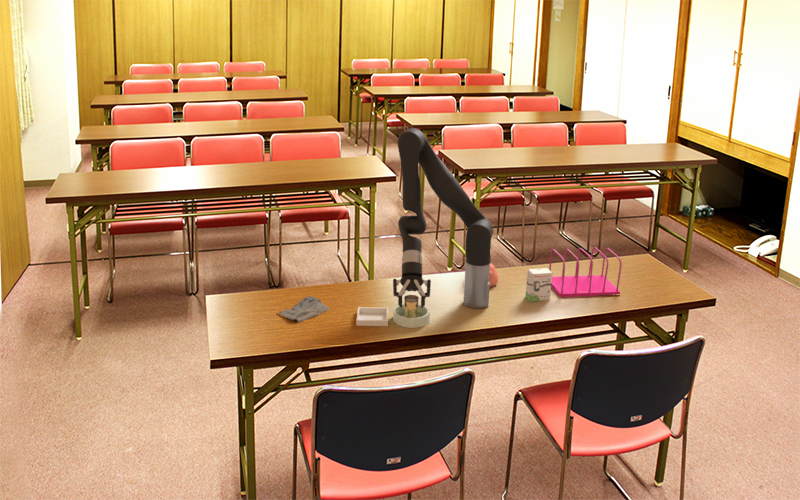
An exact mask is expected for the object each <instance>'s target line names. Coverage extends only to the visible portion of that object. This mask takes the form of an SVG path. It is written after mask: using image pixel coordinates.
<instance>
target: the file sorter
mask: <svg viewBox="0 0 800 500" xmlns="http://www.w3.org/2000/svg"><path fill="white" fill-rule="evenodd" d="M595 250H596V251H597V252H598V253H599V254H600V255H601V256H602V257H603V259H602V266H601V267H602V268H601V274H600V275H599V274H598V275H597V274H595V275H593V270H594V269H593V267H594V264H593V263H594V262H593V255H594V251H595ZM607 250H608V252H610V253H611V254H613V256H615V257H616V258H617V259H618V261H619V269H618V276H617V282H616V283H617V284H616V286H615V285H614V284H613V283H612V282H611V280H609V279H608V278H607V275H608V270H609V258H608V257H607V256H606V253H607ZM563 251H564V253H563V256H562V255H561V253H559V252H558V251H557V250H556V249H555V248H551V250H550V256H549V266H548V269H549V270H550V271H551V272H552V259H553V258H552V257H553V252H554V253H555V254H556V255H557V256H559V258H561V260H562V270H561V275H560V276H558V275H557V276H552V282H551V289H553V291H554V292H555V293H556V294H557V295H558V296H559V298H576V297H577V298H579V297H580V296H584V297H597V296H596V295H612V296H614V295H613V294H620V295H621V291H620V290H619V286H620V279H621V272H622V267H623V266H622V264H623V263H622V259H621V257H620V256H618V255H617V253H615V252H614V251H613V250H611V248H610V247H605V249H604V252H602V251H601V250H600V249H599V248H597V247H596V246H595V247H592V250H591V254H589V253H588V252H587V251H586V250H584V249H583V248H582V247H579V248H578V249H577V255H576V254H574V253H573V252H572V251H571V250H570V249H569V248H565V249H564V250H563ZM580 251H582V252H583V253H584V254H585V255H586V256H588V257H589V259H590V261H589V268H588V270H589V271H588V275H579V271H580V260H579V257H580V255H579V254H580ZM567 252H569V254H571V255H572V256H573V257H574V259H576V262H575V263H576V265H575V273H574V274H575V275H569V276H568V275H566V276H565V271H566V256H567V255H566V254H567ZM605 261H606V263H605ZM605 264H606V267H605ZM604 269H605V273H604ZM580 298H581V297H580Z"/></svg>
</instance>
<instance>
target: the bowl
mask: <svg viewBox="0 0 800 500" xmlns="http://www.w3.org/2000/svg"><path fill="white" fill-rule="evenodd" d="M392 311H393V312H392V322H393V323H394V324H396V325H398V326H399V327H403V328H409V329H415V328H417V329H418V328H422V327H425V326H427V324H429V323H430V316H431V315H430V314H431V310H430V308H428V307H427V306H426V305H425V306H423V308H421V303H418V317H417V318H407V317H404V303H402V308H400V306H399V305H395V307H393V309H392Z"/></svg>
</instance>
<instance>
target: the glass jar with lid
mask: <svg viewBox="0 0 800 500" xmlns="http://www.w3.org/2000/svg"><path fill="white" fill-rule="evenodd" d="M403 298H404V303H403V304H404V317H407V318H417V317H418V304H419V295H416V294H407V295H405V296H403Z"/></svg>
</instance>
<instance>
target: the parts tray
mask: <svg viewBox="0 0 800 500" xmlns="http://www.w3.org/2000/svg"><path fill="white" fill-rule="evenodd" d="M355 323H356V326H359V327H360V326H361V327H367V326H368V327H388V326H389V307H380V306H379V307H378V306H377V307H375V306H374V307H371V306H370V307H368V306H365V307H364V306H358V307H357V311H356V322H355Z"/></svg>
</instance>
